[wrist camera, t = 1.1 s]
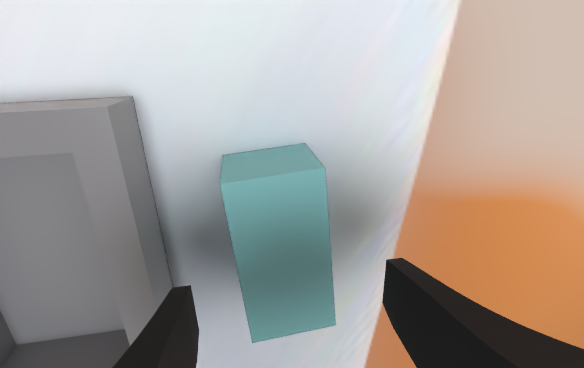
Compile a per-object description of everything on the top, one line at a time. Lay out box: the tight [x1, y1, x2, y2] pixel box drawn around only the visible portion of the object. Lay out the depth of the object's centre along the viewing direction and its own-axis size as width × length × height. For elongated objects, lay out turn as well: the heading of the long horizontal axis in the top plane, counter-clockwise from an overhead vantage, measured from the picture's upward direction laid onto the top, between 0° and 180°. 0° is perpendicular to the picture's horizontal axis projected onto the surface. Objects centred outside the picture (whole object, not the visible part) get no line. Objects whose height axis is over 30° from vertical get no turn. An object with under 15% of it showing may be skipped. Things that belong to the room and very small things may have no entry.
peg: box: [220, 143, 336, 343], centre depth 16 cm, size 8×4×4 cm, turn 6°
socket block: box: [0, 97, 173, 368], centre depth 14 cm, size 14×10×3 cm
